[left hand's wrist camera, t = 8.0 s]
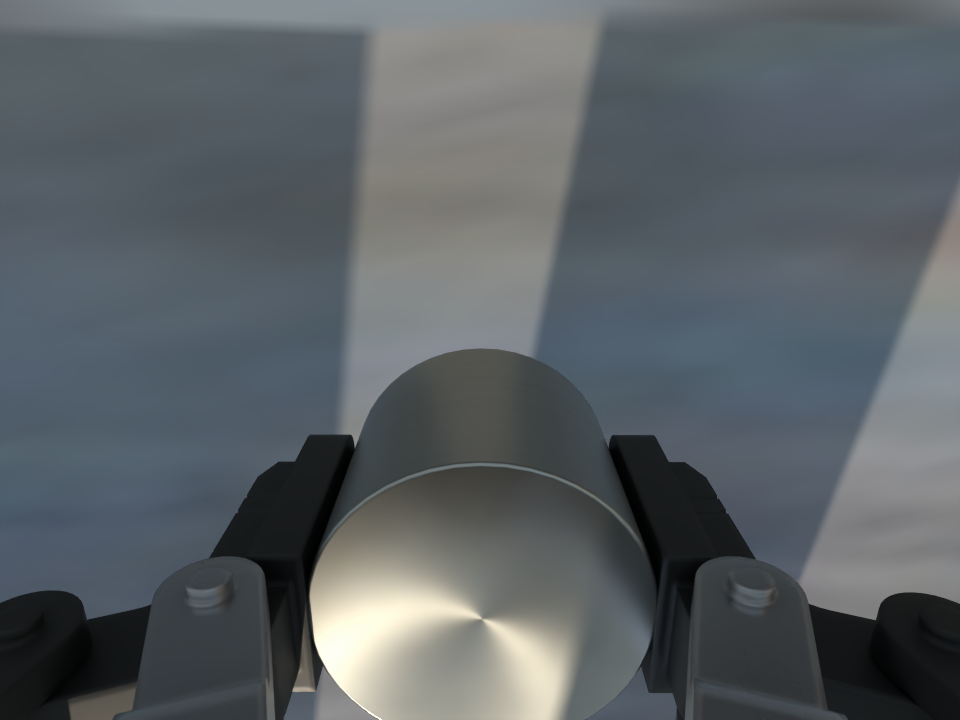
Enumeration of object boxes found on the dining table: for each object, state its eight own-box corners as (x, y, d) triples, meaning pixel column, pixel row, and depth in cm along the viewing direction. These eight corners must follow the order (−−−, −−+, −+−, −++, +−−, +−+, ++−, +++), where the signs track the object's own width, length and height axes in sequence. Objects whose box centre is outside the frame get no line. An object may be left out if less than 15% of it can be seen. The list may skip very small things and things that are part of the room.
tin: (594, 330, 12) (650, 440, 8) (613, 550, 13) (667, 729, 9) (334, 365, 12) (265, 488, 8) (384, 577, 13) (346, 763, 10)
